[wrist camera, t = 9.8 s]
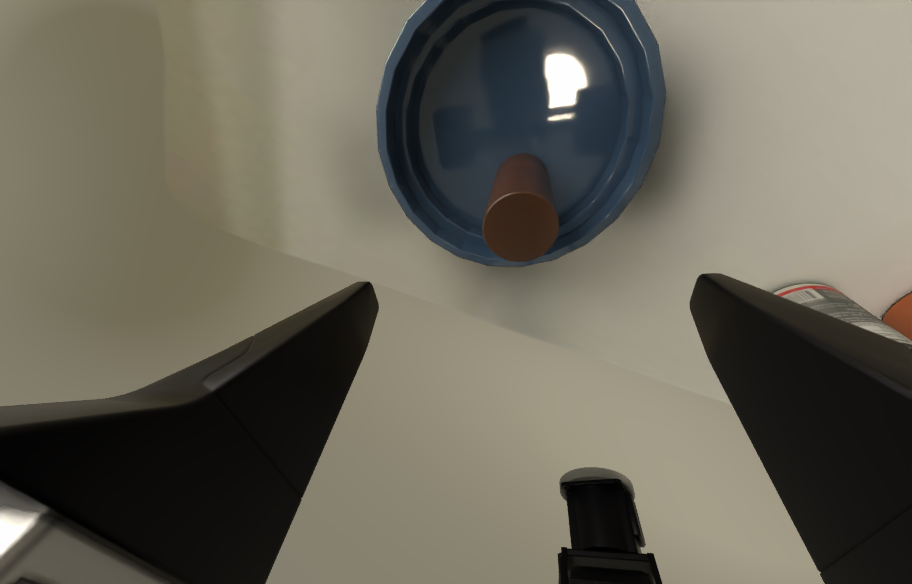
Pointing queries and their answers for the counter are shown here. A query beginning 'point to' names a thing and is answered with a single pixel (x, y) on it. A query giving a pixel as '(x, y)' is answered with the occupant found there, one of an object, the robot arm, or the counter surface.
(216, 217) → the counter surface
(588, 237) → the bowl
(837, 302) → the pill bottle
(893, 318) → the orange cylinder cap
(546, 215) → the brown cylinder
